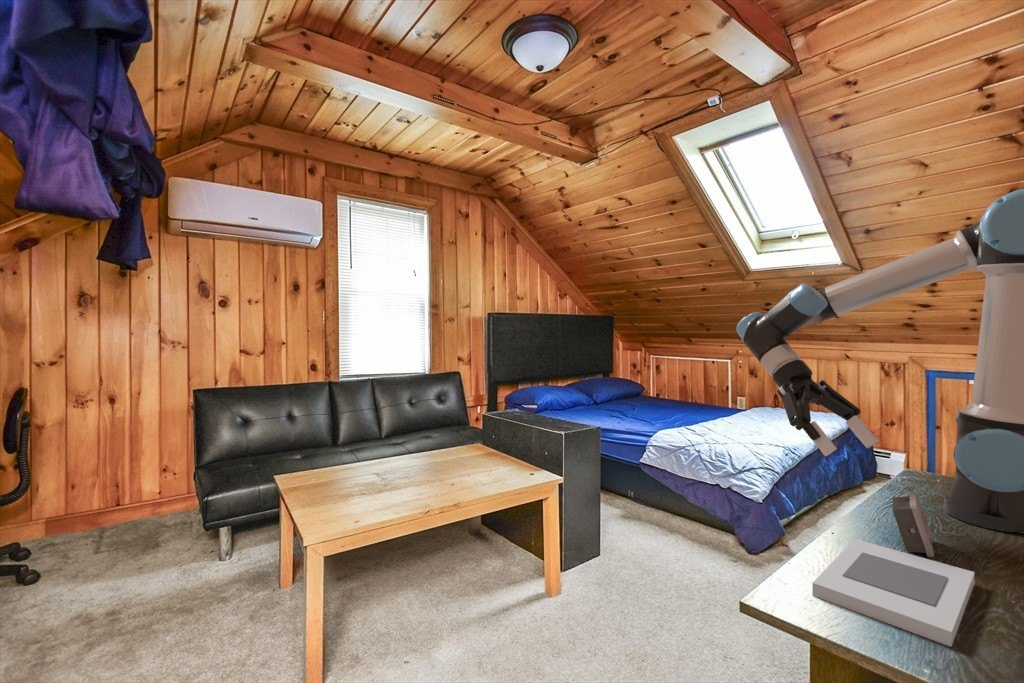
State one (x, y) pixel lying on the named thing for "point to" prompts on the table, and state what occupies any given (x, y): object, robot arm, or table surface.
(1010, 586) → the table surface
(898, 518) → the electrical switch
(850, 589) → the mounting board
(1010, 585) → the table surface
